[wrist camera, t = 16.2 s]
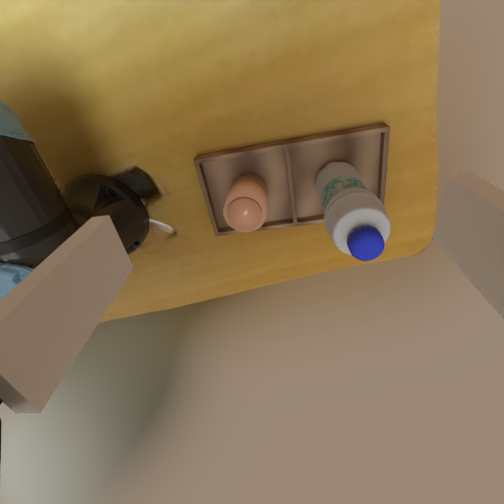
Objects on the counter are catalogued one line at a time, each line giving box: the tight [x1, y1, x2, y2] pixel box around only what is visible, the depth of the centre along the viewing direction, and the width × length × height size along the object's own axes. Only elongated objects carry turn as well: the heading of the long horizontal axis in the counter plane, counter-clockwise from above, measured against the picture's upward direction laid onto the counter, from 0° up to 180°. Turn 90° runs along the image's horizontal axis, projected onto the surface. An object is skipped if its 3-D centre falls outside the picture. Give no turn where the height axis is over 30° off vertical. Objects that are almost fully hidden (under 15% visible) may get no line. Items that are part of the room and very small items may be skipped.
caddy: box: [194, 123, 390, 236], centre depth 45 cm, size 28×13×2 cm, turn 100°
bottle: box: [316, 162, 390, 261], centre depth 36 cm, size 7×7×20 cm
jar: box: [223, 173, 268, 232], centre depth 43 cm, size 6×6×9 cm
